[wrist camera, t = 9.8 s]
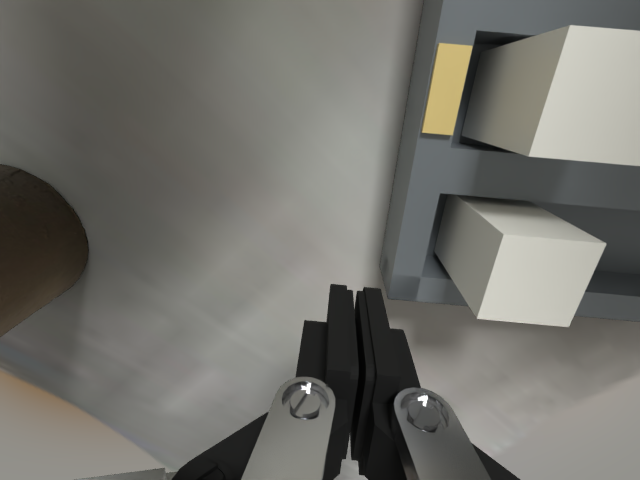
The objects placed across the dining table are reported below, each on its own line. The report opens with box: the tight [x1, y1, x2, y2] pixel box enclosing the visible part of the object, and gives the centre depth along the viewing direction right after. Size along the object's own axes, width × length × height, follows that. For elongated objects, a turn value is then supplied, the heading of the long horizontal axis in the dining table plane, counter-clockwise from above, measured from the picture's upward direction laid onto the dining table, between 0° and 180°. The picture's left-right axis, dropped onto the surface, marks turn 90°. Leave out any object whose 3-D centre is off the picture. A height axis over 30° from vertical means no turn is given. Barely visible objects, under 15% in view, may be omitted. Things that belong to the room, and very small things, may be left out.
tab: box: [434, 194, 607, 327], centre depth 17 cm, size 4×4×7 cm
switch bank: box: [380, 0, 640, 322], centre depth 17 cm, size 22×22×4 cm
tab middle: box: [462, 25, 640, 166], centre depth 14 cm, size 4×4×7 cm
